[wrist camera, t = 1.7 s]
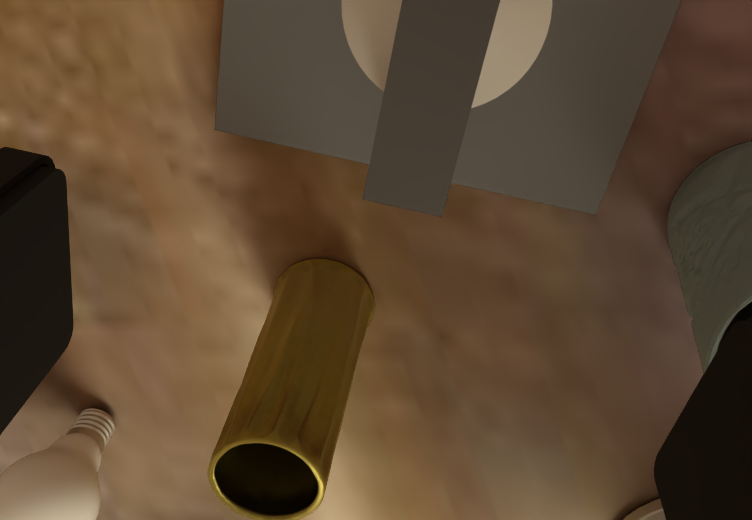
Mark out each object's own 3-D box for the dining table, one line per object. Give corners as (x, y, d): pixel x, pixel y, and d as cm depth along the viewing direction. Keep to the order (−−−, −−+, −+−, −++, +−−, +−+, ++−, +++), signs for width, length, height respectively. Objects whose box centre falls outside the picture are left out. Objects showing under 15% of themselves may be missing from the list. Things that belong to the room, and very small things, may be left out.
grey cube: (580, -122, 24) (630, -100, 16) (506, 127, 29) (517, 234, 21) (332, -177, 24) (265, -181, 16) (297, 80, 29) (233, 170, 21)
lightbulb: (83, 453, 53) (-2, 587, 43) (41, 387, 50) (-60, 516, 40) (159, 443, 51) (89, 580, 42) (121, 375, 48) (36, 506, 39)
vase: (262, 318, 44) (182, 502, 32) (292, 240, 41) (217, 411, 29) (353, 354, 45) (308, 547, 33) (390, 280, 42) (355, 463, 30)
